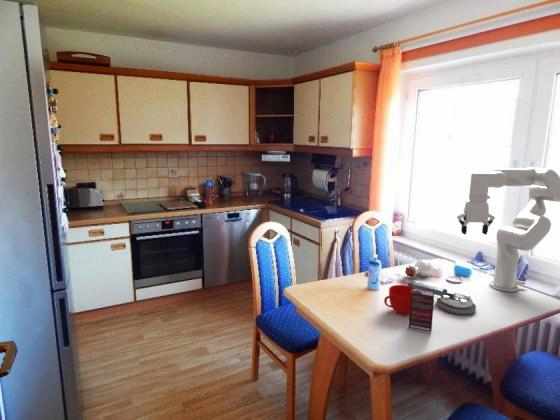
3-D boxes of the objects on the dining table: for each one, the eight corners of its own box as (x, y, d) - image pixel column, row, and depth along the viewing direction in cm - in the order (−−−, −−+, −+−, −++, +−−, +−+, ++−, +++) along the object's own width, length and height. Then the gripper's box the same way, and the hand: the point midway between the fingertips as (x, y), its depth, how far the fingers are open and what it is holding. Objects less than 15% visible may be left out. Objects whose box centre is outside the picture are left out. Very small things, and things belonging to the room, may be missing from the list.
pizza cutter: (413, 286, 185) (414, 277, 184) (475, 301, 168) (476, 291, 167) (403, 294, 175) (404, 284, 174) (468, 312, 158) (469, 301, 157)
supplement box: (431, 328, 149) (435, 291, 146) (431, 334, 144) (434, 296, 141) (409, 324, 152) (411, 287, 149) (407, 329, 148) (410, 292, 145)
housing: (465, 299, 175) (465, 295, 175) (482, 315, 159) (483, 311, 159) (431, 299, 175) (431, 295, 175) (445, 315, 160) (445, 310, 159)
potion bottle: (431, 277, 207) (411, 284, 202) (421, 263, 213) (400, 270, 207) (439, 267, 201) (418, 275, 195) (428, 253, 206) (407, 260, 201)
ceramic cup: (374, 310, 165) (375, 288, 163) (404, 303, 171) (405, 283, 169) (393, 323, 153) (395, 300, 151) (425, 315, 160) (427, 293, 158)
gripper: (492, 197, 177) (488, 231, 181) (455, 197, 178) (452, 231, 181) (501, 199, 170) (496, 235, 173) (463, 199, 170) (459, 235, 174)
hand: (474, 233), depth 177 cm, fingers open, 9 cm apart
